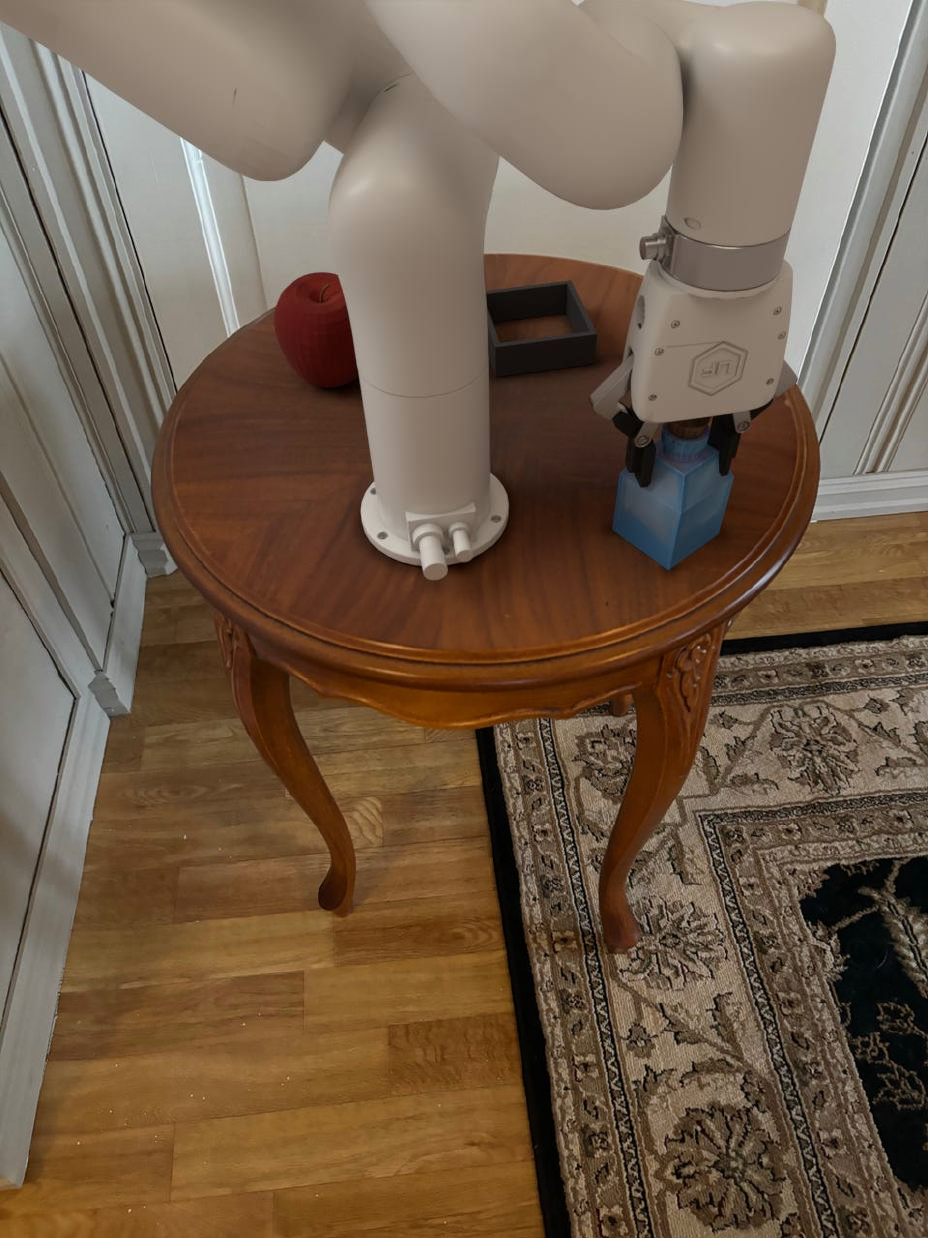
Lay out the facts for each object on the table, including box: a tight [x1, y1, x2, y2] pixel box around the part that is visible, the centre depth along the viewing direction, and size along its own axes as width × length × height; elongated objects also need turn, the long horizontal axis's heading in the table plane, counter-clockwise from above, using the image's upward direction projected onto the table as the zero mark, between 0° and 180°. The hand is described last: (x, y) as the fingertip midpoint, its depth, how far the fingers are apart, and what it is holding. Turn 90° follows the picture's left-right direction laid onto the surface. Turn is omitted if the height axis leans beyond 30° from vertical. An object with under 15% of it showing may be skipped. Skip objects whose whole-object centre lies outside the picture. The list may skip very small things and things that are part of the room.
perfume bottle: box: [611, 416, 735, 571], centre depth 69 cm, size 6×6×12 cm
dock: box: [486, 279, 598, 378], centre depth 91 cm, size 10×10×4 cm
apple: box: [273, 271, 359, 389], centre depth 86 cm, size 10×10×10 cm
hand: (678, 468), depth 69 cm, fingers closed on perfume bottle, 5 cm apart
